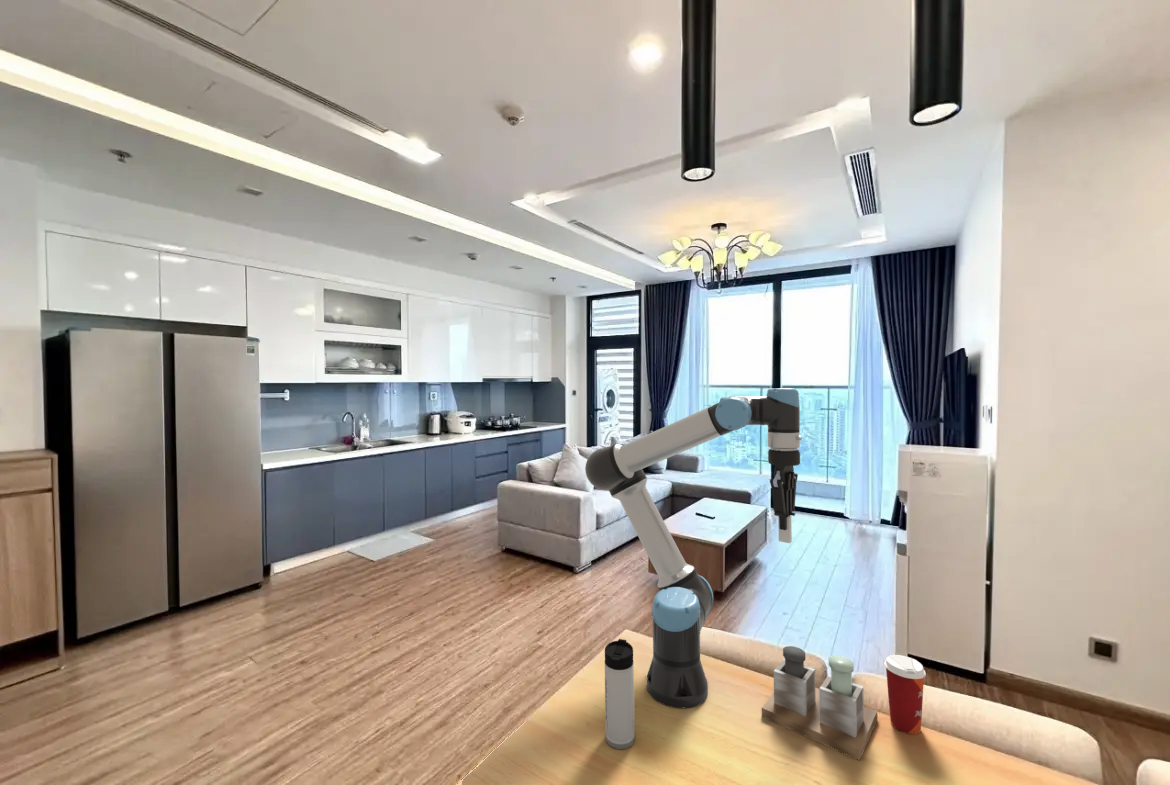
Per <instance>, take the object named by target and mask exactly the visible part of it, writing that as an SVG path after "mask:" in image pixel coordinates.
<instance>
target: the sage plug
mask: <svg viewBox="0 0 1170 785" xmlns="http://www.w3.org/2000/svg"><path fill="white" fill-rule="evenodd" d="M828 665H829V667H830V675H831V690H832V691H835V692H838V693H840V694H843V695H846V696H848V697H852V683H853V682H852V681H853V677H852V675H853V672H854V666H855V665H854V661H853V660H851V659H850V658H848V657H846V656H842V655H836V654H835V655H830V656H829V657H828Z"/></svg>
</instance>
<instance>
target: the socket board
mask: <svg viewBox="0 0 1170 785" xmlns="http://www.w3.org/2000/svg"><path fill="white" fill-rule="evenodd" d="M864 697H865V696H864V686H863V685H861V684H857V683H855V682H852V697H848V696H846V695H843V694H840V693H838V692H835V691H832V690H831V673H830V674H828V675H826V677H825V679H824V681H823V682H822V684H821V685H820V686H819V688H818V687H816V669H815V668H813V667H809V666H808V665H806V664H804V677H803V678H802V679H800V678H798V677H795V676H792V675H790V674H787V673H785V658H784V657H783V659H782V661H781V662H780V663H779V664H778V665H777V666H776V668H774V670H773V693H772V694H771V696H770V697H769V698H768V699H767V700H766V701H765V703H764V704H763V706H762V707H761V717H762V718H764V719H766V720H769V721H771V722H774V723H776V724H778V725H780V726H782V727H783V728H786V729H789V730H791V731H793V732H795V733H798V734H800V735H802V736H804V737H806V738H808V739H811V740H813V741H815V742H817V741H818V743H820V744H822V745H825V746H826V747H828V746H829V747H828V748H831V749H833V748H834V750H835V749H836V750H835V751H837V750H838V751H837V752H839V751H840V753H842V752H843V753H842V754H844V753H845V754H844V755H846V754H847V755H846V756H848V755H849V756H848V757H851V758H853V759H855V758H856V759H855V760H858V761H859V760H860V761H861V759H860V758H862V756H863V753H864V752H865V749H866V747H867V744H868V743H869V740H870V738H871V736H870V735H872V733H873V731H874V729H875V726H876V724H877V722H878V710H876V709H874V708H873V709H872V708H870V707H867V706H865V705H864V700H865V699H864ZM867 742H868V743H867Z"/></svg>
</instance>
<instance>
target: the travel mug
mask: <svg viewBox="0 0 1170 785" xmlns="http://www.w3.org/2000/svg"><path fill="white" fill-rule="evenodd" d="M634 667H635V666H634V647H633V646H632V644H630V643H629V642H628V641H627V639H621V638H619V639H618V640H614V641H611V642H609V643H608V644H606V646H605V647H604V708H605V711H604V714H605V716H604V718H605V719H604V720H605V722H604V723H605V741H606V743H607V745H609V746H610V747H611V748H612V749H618V750H626V749H627V748H630V747H632V745H633V744H634V743H635V739H636V738H635V733H636V732H635V680H634V679H635V673H634V672H635V669H634Z"/></svg>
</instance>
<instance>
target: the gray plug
mask: <svg viewBox="0 0 1170 785" xmlns="http://www.w3.org/2000/svg"><path fill="white" fill-rule="evenodd" d="M782 656H783V659H784V658H785V673H787V674H790V675H792V676H795V677H798V678H800V679H802V678H803V677H804V665H805V661H806V651H804V650H803V649H802V648H800V647H798V646H792V645H788V646H784V647H783V649H782Z"/></svg>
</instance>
